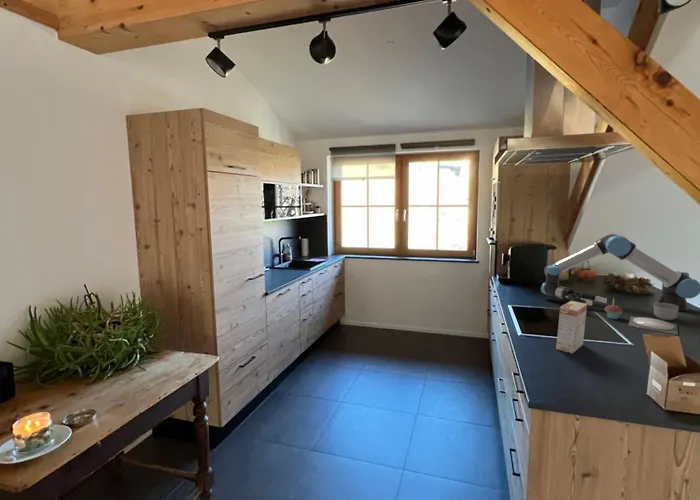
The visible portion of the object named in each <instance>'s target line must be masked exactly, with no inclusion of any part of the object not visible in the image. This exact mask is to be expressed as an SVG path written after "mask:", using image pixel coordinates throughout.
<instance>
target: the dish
mask: <svg viewBox="0 0 700 500" xmlns="http://www.w3.org/2000/svg"><path fill="white" fill-rule="evenodd" d="M627 325H628V327H630V328H637V329H642V330H646V331H647V330H648V331H652V332H658V333H663V334H668V335H672V336H673V335H674V336H678V335H679V333H678V324H677V323H671V322H668V321H666V320H663V319H657V318H650V317H640V316H639V317H638V316H630V319H629V321H628V324H627Z"/></svg>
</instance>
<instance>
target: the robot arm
mask: <svg viewBox="0 0 700 500" xmlns="http://www.w3.org/2000/svg"><path fill="white" fill-rule="evenodd" d="M606 254H610V255H613V257H616V258H617V259H619V260H621V261H625V260H626V261H627V262H629V263H630V264H631V265H634V266H635V267H637V268H639V269H640V270H641V271H643V272H645V273H646V274H649V275H650V276H652V277H653V278H655V279H657V280H658V281H660V282H662V285H661V293H660V294H659V297H658V298H657V301H656V302H658V303H668V304H673V305H676V306H678V307H679V308H678V312H687V311H688V309H689V306H688V301H687V299H693V298H695V297H697V296H698V295H700V282H699V281H698V280H696V279H695V278H691V277H690V274H689V272H685V271H679V270H678V271H677V270H676V271H674V270H673V269H671V268H670V267H668V266H667V265H665V264H663V263H661V262H660V261H658V260H656V259H655V258H653V257H651V255H648V254H647V253H645V252H643V251H642V250H640V249H638V248H637V244H636V243H633V242H632V241H630V240H629V239H628V238H627V237H625V236H622V235H620V234H616V233H612V234H608V235H605V236H603V237H601V238H599V239H598V240H596V241H594V242H593V243H592V244H591V245H589V246H588V247H585V248H583V249H581V250H579V251H577V252H574V253H573V254H570V255H569V256H567V257H565V258H563V259H560V260H558V261H557V262H555V263H552V264H548V265H546V266H545V267H544V269H543V270H544V271H543V272H544V274H545V275H544V276H545V277H546V278H545V282H543V283H542V284H541V287H540V292H541V293H543V294H544V295H546V296H550V297H555V298H559V300H565V301H568V302H570V301H575V302H580V303H584V304H587V306H593V301H595V302H599V303H603V304H608V303H607V302H608V298H606V297H602V296H599V295H597V294H591V293H584V292H575V290H574V289H573V288H569V287H566V286H561V285H560V276H561V275H560V274H562V273H564V272H566V271H568V270H570V269H572V268H573V269H574V268H575V267H576V266H579V265H581V264H582V263H586V262H587V261H589V260H592V259H594V258H596V257H598V256H604V255H606Z"/></svg>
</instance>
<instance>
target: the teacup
mask: <svg viewBox="0 0 700 500" xmlns="http://www.w3.org/2000/svg"><path fill="white" fill-rule="evenodd" d="M652 308H653V314H654V316H655V317H657V318H658V320H662V321H673V320H674V319H677V317H678V315H679V311H678V308H679V307H678V306H676V305H673V304H668V303H658V302H657V301H654V302H653V304H652ZM657 318H656V319H657Z"/></svg>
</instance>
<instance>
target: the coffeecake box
mask: <svg viewBox="0 0 700 500" xmlns="http://www.w3.org/2000/svg"><path fill="white" fill-rule="evenodd" d="M587 309H588V305H587V304H584V303H580V302H575V301H568V302H566V303H565V304H562V305H561V306H560V307H559V314H558V315H559V317H558V325H557V326H558V327H557V335H556V336H557V337H556V347H555V349H556V350H557V351H558V350H559V351H561V350H562V351H561V352H566V353H568V352H569V354H574V353H575V352H576V351H578V350H579V349H580V348H581V347H582V346H583V345H584V337H585V327H586V319H587ZM578 348H579V349H578Z"/></svg>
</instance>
